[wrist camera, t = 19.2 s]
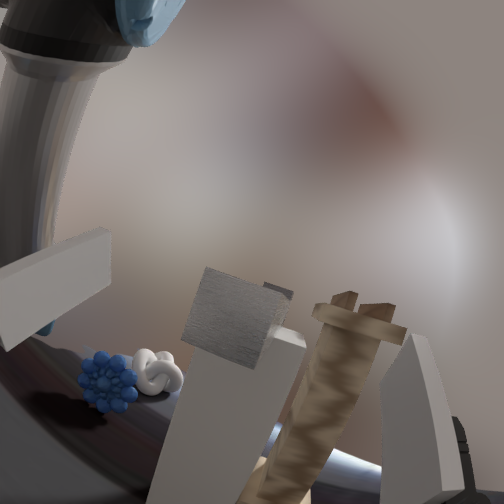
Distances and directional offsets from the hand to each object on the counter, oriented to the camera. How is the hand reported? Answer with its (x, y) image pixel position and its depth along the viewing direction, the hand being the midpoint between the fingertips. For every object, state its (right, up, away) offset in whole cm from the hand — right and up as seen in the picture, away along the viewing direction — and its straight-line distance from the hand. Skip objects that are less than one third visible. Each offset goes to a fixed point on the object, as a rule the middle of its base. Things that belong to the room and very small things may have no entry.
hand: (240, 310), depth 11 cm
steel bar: (+1, -4, +11) cm, 12 cm away
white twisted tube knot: (-21, -29, +45) cm, 57 cm away
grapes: (-25, -25, +27) cm, 45 cm away
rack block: (-7, -29, +12) cm, 32 cm away
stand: (+4, -34, +20) cm, 40 cm away
